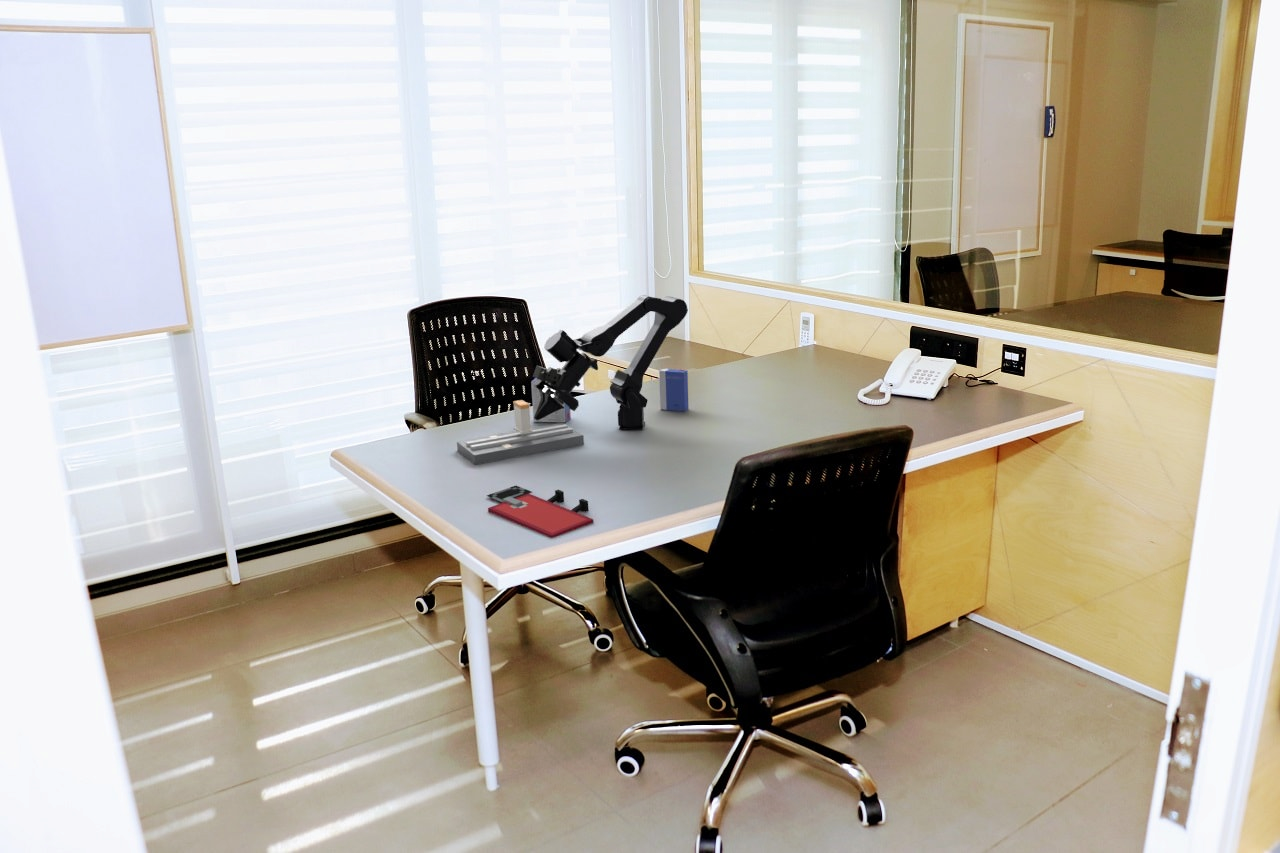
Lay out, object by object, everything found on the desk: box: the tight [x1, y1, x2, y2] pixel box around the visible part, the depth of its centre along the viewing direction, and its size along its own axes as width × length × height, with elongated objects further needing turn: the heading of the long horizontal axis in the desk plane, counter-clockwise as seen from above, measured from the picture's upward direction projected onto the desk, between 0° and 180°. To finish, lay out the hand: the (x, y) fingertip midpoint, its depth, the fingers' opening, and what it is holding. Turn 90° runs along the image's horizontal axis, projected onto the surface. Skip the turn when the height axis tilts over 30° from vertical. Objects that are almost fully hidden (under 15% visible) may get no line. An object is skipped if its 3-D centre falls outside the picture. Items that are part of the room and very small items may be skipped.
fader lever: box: [512, 399, 533, 436], centre depth 271 cm, size 3×6×9 cm, turn 28°
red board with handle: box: [486, 485, 595, 539], centre depth 227 cm, size 30×3×15 cm
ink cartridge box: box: [530, 377, 572, 423], centre depth 295 cm, size 10×6×14 cm, turn 78°
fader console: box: [456, 422, 585, 465], centre depth 272 cm, size 30×14×3 cm, turn 118°
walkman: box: [658, 368, 690, 412], centre depth 301 cm, size 8×3×12 cm, turn 63°
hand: (535, 419), depth 273 cm, fingers closed
